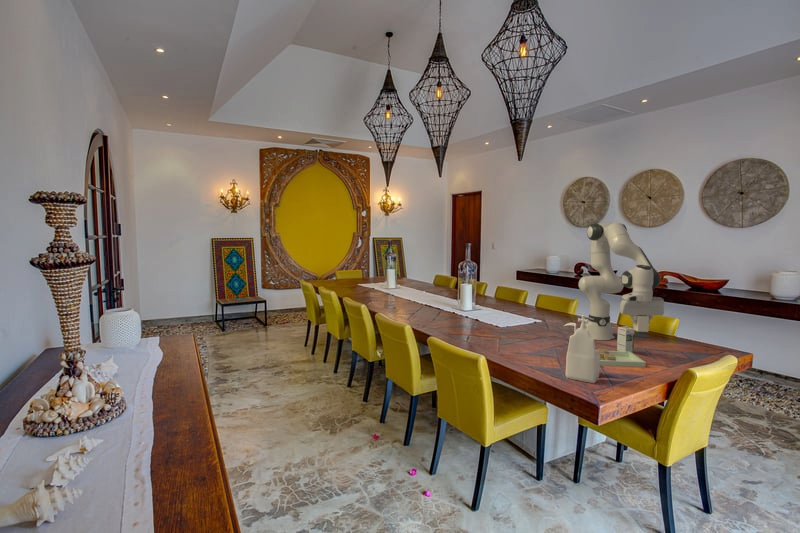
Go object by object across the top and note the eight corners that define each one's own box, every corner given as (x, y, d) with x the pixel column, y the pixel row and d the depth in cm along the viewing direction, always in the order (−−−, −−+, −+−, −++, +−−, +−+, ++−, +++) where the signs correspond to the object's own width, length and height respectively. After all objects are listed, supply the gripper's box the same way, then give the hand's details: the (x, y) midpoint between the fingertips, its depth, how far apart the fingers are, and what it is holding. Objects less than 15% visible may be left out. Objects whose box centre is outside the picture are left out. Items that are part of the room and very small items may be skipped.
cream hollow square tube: (633, 329, 208) (634, 314, 207) (643, 329, 207) (644, 314, 206) (637, 331, 203) (638, 316, 202) (648, 331, 202) (649, 316, 201)
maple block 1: (597, 356, 210) (597, 348, 210) (605, 356, 209) (605, 348, 209) (600, 358, 206) (600, 351, 206) (608, 358, 205) (608, 351, 205)
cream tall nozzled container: (600, 376, 186) (604, 312, 183) (596, 385, 175) (599, 317, 172) (562, 368, 196) (564, 308, 193) (555, 376, 185) (557, 312, 182)
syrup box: (625, 355, 215) (626, 329, 213) (616, 352, 220) (617, 326, 219) (633, 354, 216) (635, 328, 215) (624, 351, 222) (626, 325, 220)
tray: (586, 356, 213) (586, 350, 212) (629, 358, 210) (630, 351, 210) (597, 367, 196) (598, 360, 196) (645, 369, 193) (645, 362, 193)
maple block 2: (594, 358, 206) (594, 351, 205) (602, 358, 205) (603, 351, 205) (597, 361, 202) (597, 353, 202) (605, 361, 201) (606, 353, 201)
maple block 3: (604, 361, 201) (604, 354, 201) (612, 362, 201) (612, 354, 200) (607, 364, 197) (607, 356, 197) (615, 364, 197) (616, 356, 196)
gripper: (660, 296, 205) (659, 322, 206) (618, 295, 208) (617, 321, 209) (667, 298, 199) (665, 325, 200) (624, 297, 201) (623, 324, 203)
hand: (640, 323), depth 205 cm, fingers closed on cream hollow square tube, 5 cm apart
